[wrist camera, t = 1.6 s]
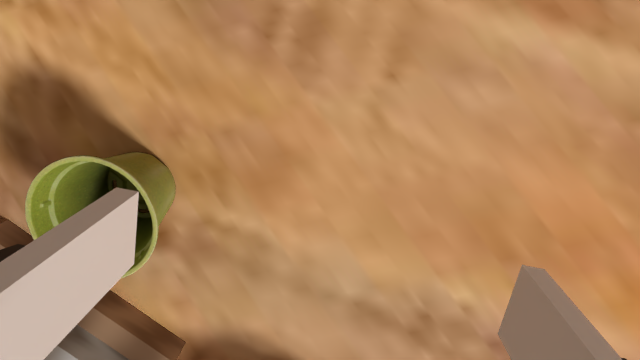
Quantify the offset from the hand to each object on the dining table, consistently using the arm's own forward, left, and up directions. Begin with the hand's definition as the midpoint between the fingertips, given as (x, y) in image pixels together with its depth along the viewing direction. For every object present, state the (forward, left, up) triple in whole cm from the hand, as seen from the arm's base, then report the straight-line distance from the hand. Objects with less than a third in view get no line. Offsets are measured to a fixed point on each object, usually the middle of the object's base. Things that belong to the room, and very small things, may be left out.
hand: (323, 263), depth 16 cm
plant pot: (-10, -14, -24) cm, 30 cm away
